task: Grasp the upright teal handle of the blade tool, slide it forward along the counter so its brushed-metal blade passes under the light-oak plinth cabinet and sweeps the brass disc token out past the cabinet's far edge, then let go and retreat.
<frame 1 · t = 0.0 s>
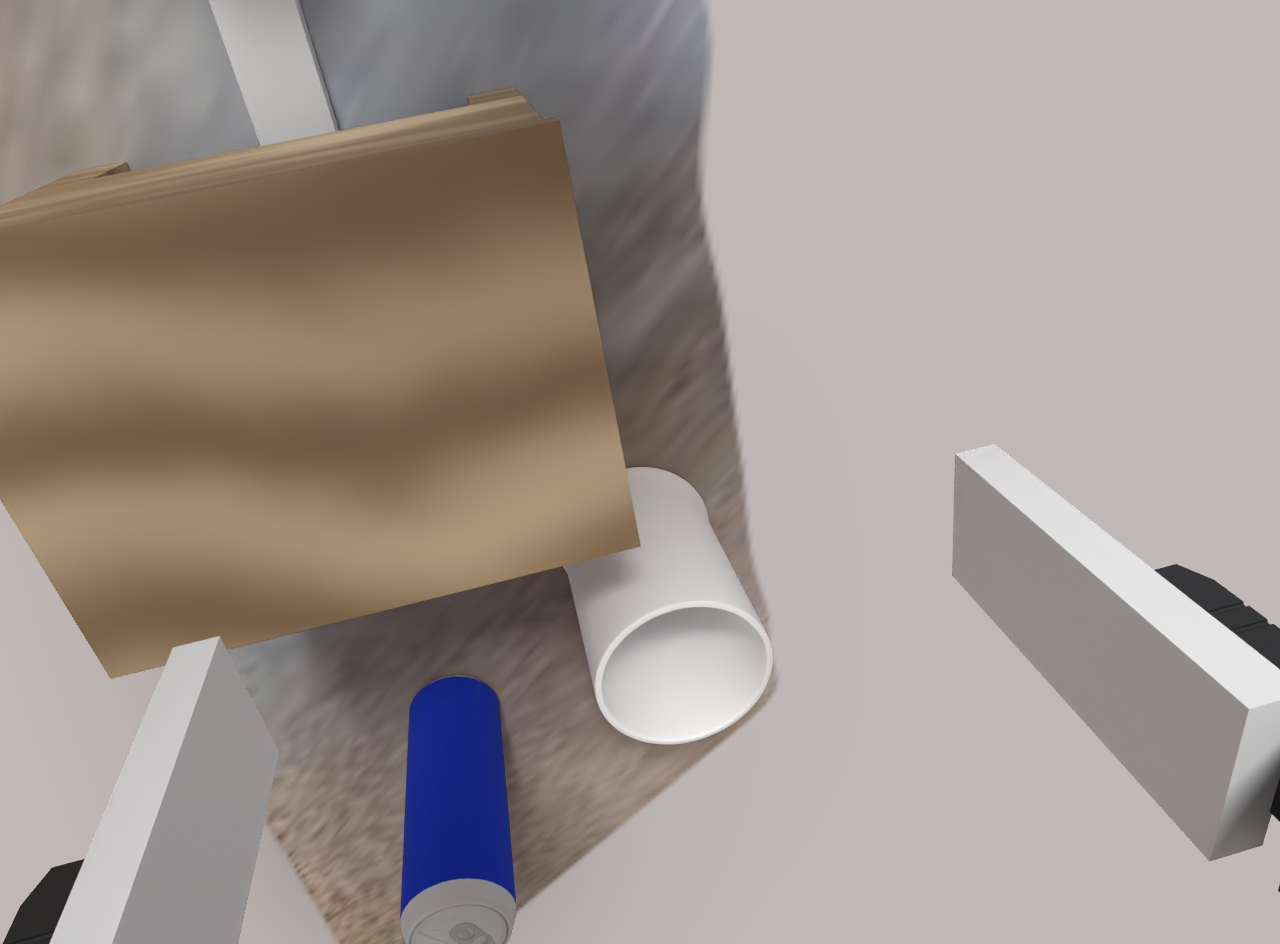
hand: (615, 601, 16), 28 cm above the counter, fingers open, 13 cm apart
beverage can: (454, 701, 52), on the counter
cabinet: (354, 290, 39), on the counter
mug: (631, 556, 49), on the counter
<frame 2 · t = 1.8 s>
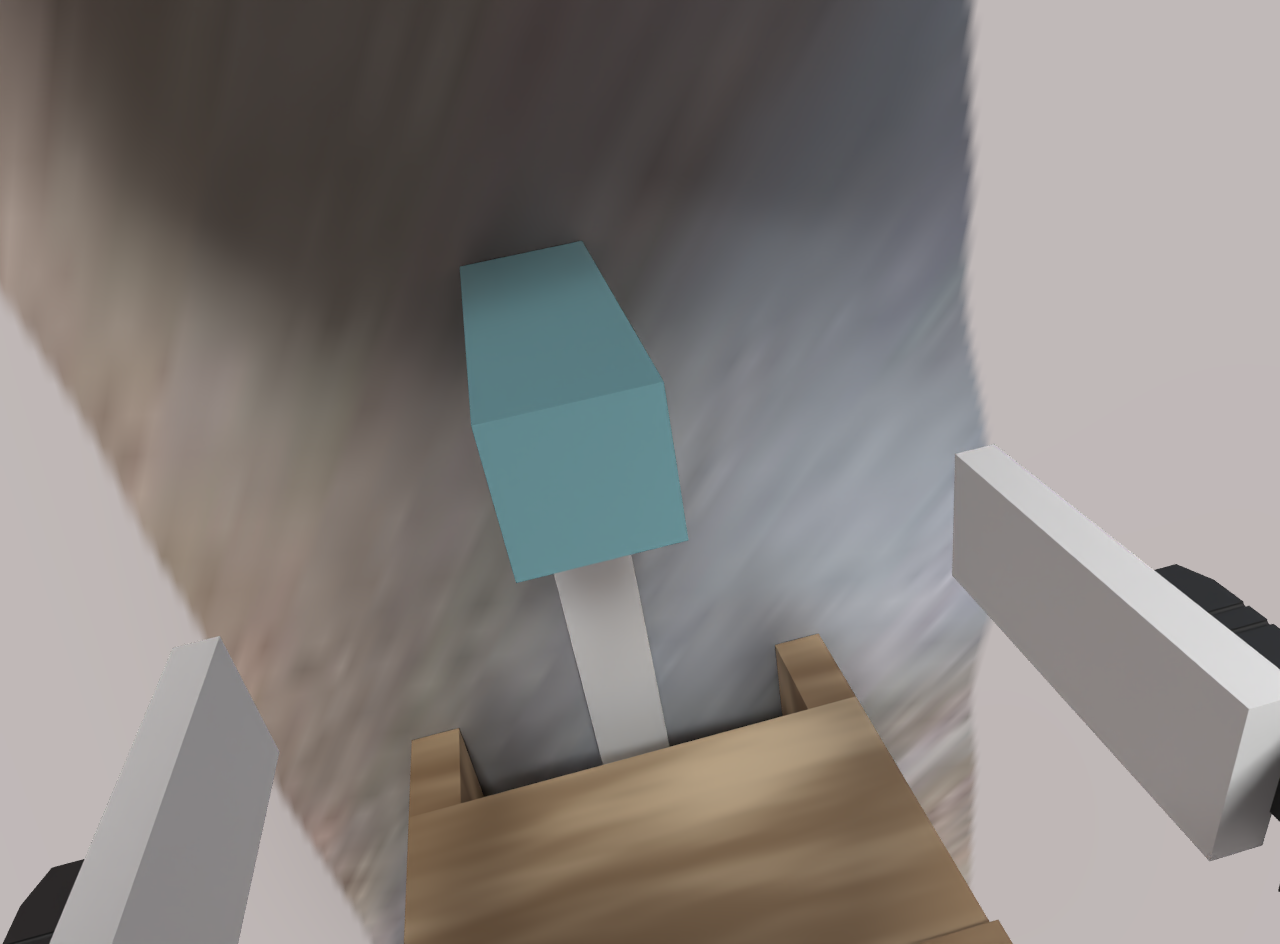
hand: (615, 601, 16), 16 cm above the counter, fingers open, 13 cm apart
blade tool: (534, 312, 29), on the counter
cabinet: (644, 794, 41), on the counter
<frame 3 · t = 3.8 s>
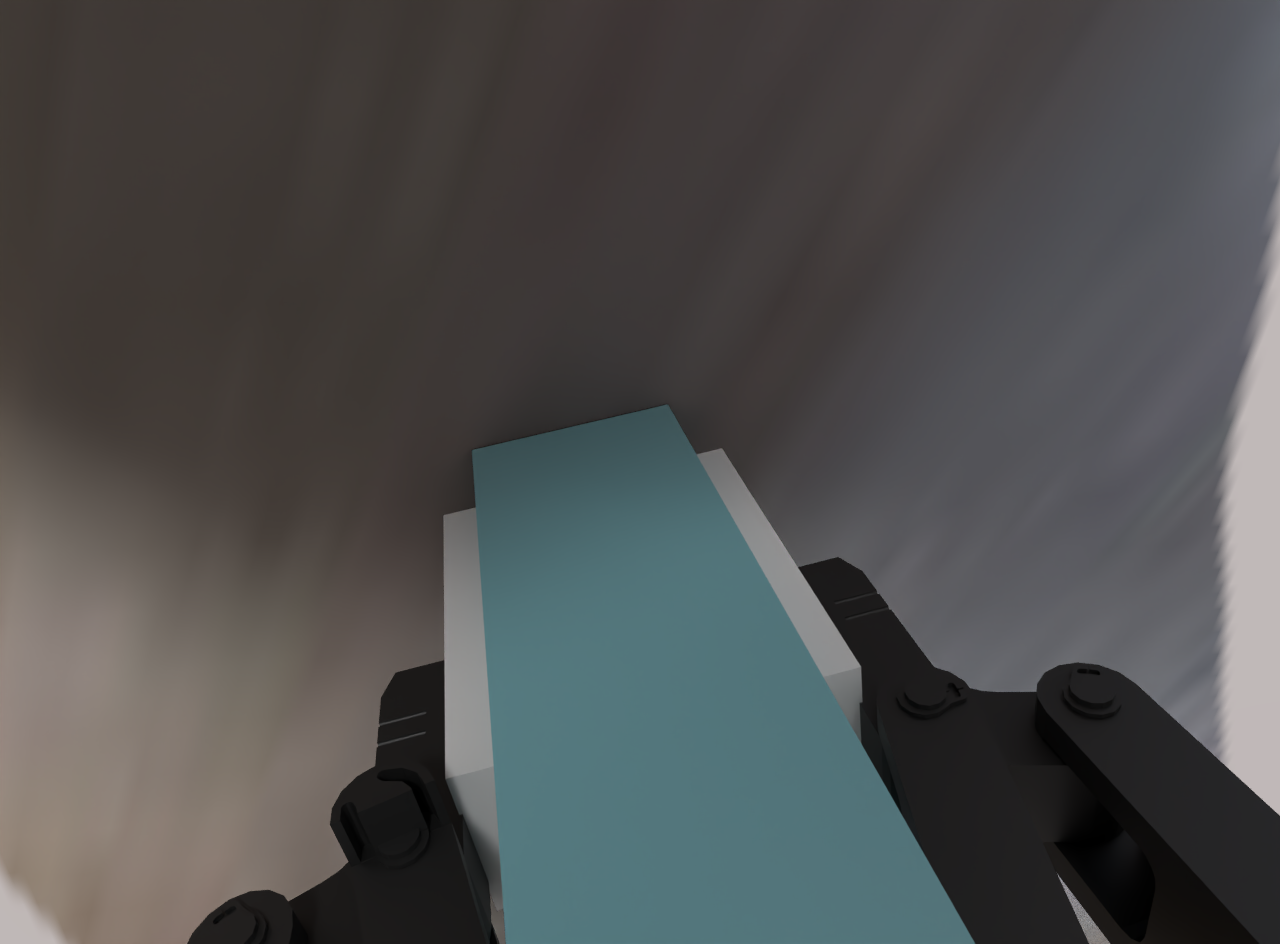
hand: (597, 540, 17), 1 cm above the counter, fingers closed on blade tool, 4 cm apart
blade tool: (589, 510, 18), on the counter, touching gripper
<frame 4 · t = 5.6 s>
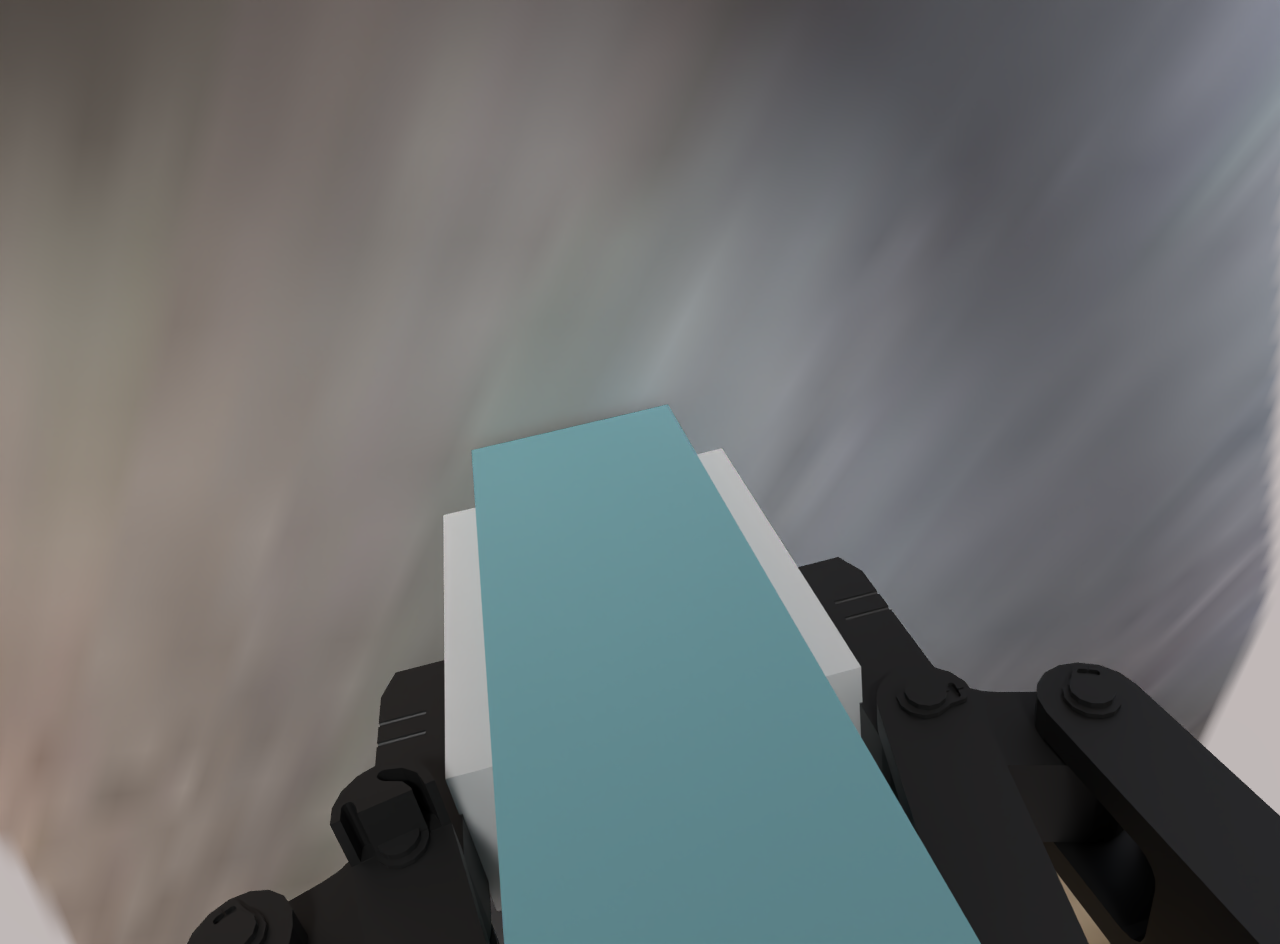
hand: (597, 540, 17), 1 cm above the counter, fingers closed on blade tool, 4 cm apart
blade tool: (589, 511, 18), on the counter, touching gripper
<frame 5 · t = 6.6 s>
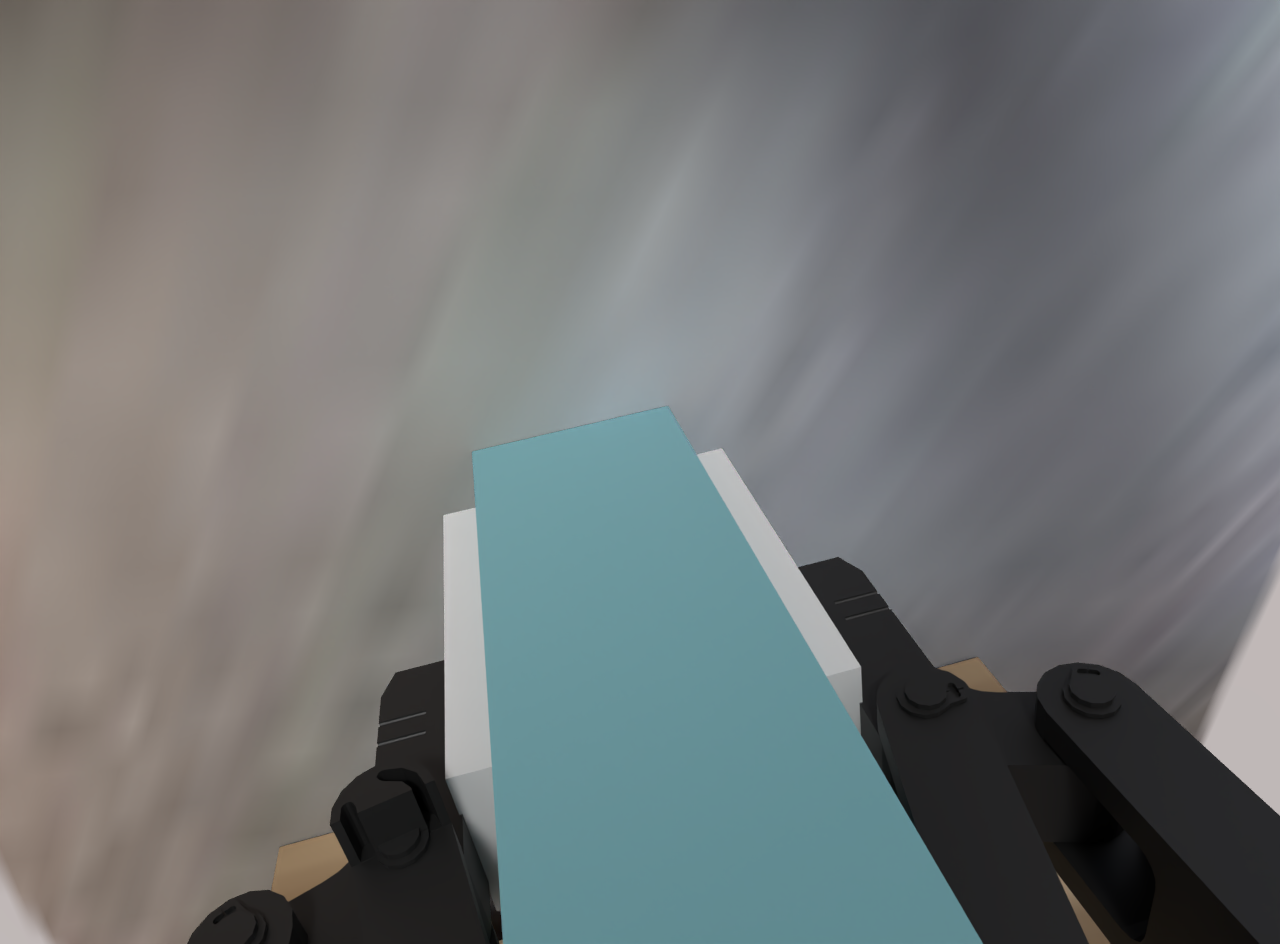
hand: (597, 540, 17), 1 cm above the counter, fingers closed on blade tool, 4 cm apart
blade tool: (589, 512, 18), on the counter, touching gripper
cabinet: (680, 918, 25), on the counter
when the fingers open (1 cm above the counter, at t = 7.4 s): blade tool stays where it is, on the counter.
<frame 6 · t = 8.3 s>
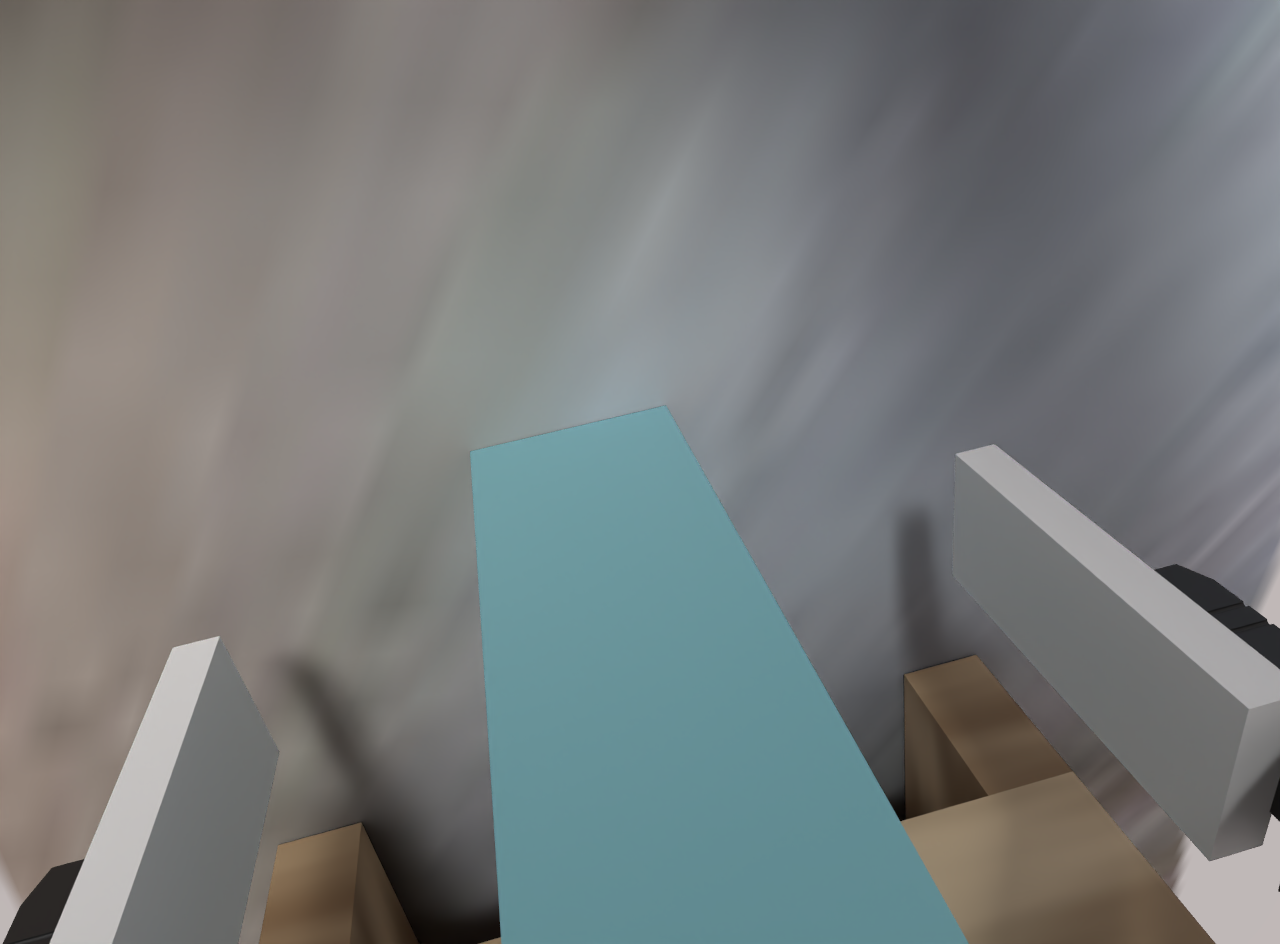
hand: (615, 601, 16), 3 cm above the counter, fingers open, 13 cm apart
blade tool: (587, 511, 18), on the counter
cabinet: (679, 916, 25), on the counter
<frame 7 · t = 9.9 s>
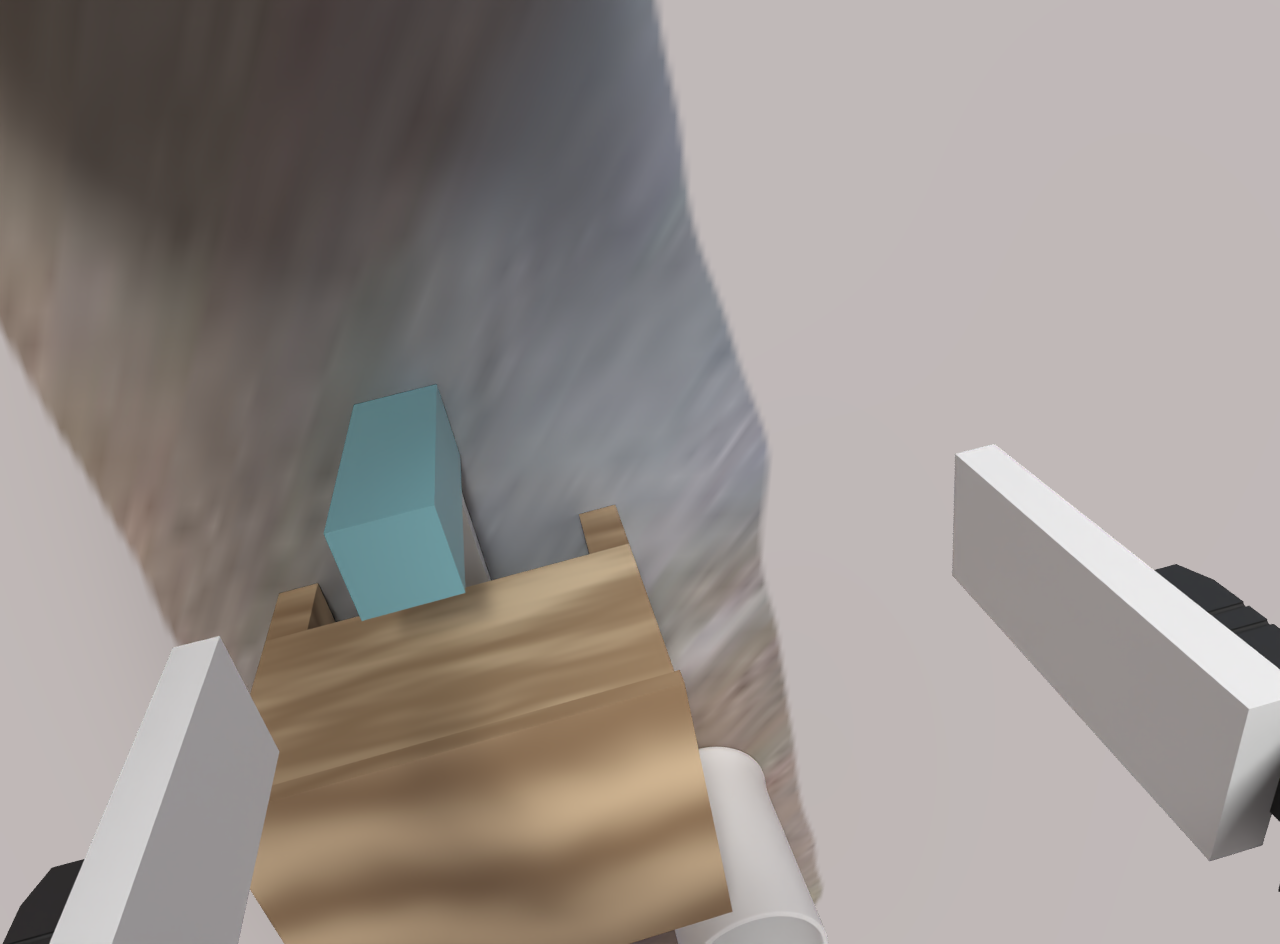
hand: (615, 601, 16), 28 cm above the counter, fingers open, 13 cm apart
blade tool: (408, 431, 43), on the counter
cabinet: (485, 649, 49), on the counter
mug: (700, 808, 59), on the counter
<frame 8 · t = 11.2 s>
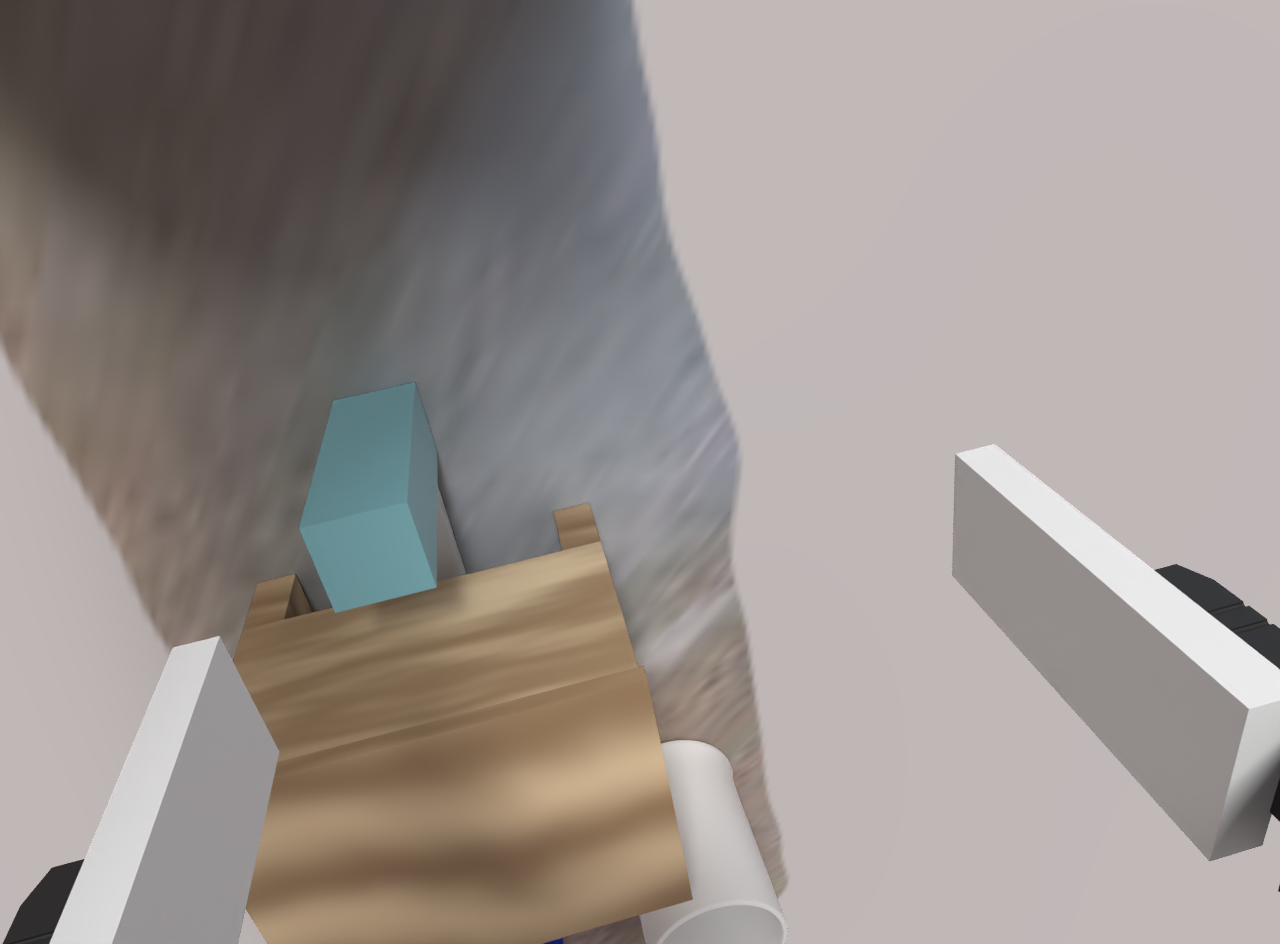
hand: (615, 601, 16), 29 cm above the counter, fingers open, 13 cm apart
blade tool: (386, 427, 44), on the counter
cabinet: (459, 641, 50), on the counter
mug: (669, 800, 60), on the counter
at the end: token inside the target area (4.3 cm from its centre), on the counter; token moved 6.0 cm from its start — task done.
